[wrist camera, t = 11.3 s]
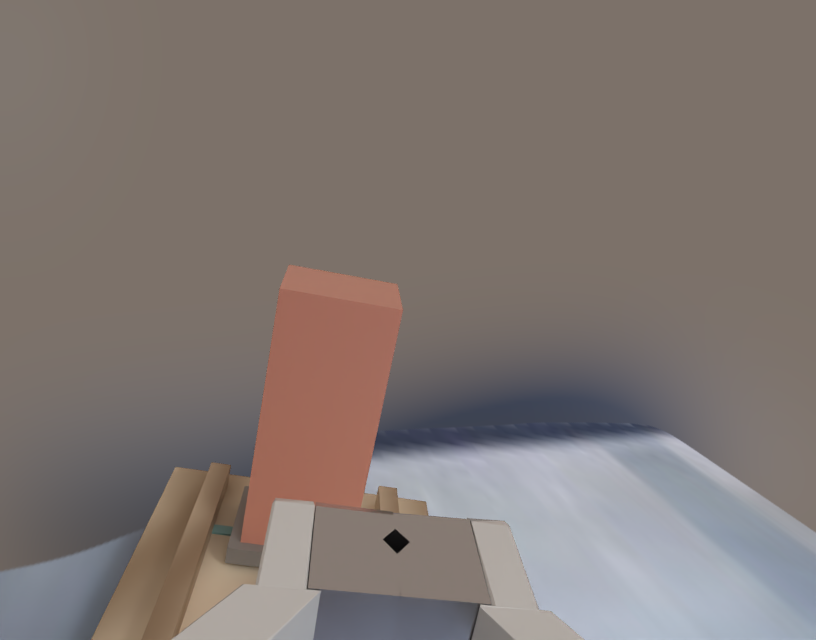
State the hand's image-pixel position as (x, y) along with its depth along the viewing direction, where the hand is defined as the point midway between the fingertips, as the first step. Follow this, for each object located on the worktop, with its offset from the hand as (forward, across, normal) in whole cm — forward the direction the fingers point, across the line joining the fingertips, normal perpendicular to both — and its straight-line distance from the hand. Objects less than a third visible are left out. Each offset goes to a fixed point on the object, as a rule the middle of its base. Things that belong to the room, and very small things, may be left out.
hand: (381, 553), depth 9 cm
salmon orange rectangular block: (+21, +1, +15) cm, 26 cm away
